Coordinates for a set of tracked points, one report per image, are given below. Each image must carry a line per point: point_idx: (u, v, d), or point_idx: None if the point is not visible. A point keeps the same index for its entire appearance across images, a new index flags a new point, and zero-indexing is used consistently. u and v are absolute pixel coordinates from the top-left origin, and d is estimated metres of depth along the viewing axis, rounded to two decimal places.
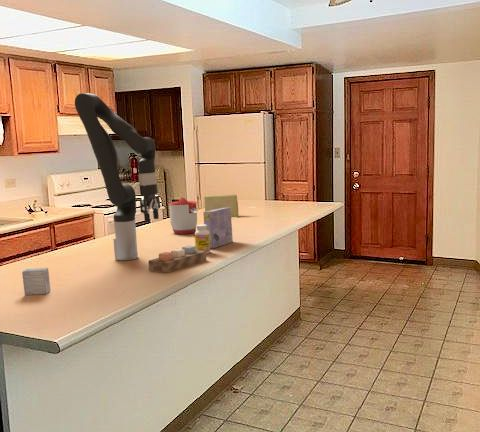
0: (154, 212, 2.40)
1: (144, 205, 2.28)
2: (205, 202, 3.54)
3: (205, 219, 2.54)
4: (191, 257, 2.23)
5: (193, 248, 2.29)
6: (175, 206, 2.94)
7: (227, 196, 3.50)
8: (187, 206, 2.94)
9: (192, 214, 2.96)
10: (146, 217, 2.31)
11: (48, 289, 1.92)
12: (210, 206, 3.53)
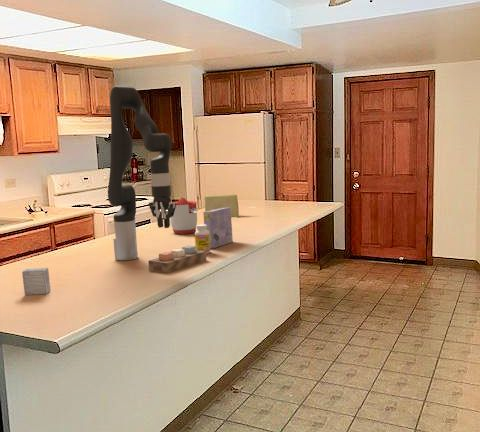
0: None
1: None
2: (205, 202, 3.54)
3: (205, 219, 2.54)
4: (191, 257, 2.23)
5: (193, 248, 2.29)
6: None
7: (227, 196, 3.50)
8: (187, 206, 2.94)
9: (192, 214, 2.96)
10: None
11: (48, 289, 1.92)
12: (210, 206, 3.53)
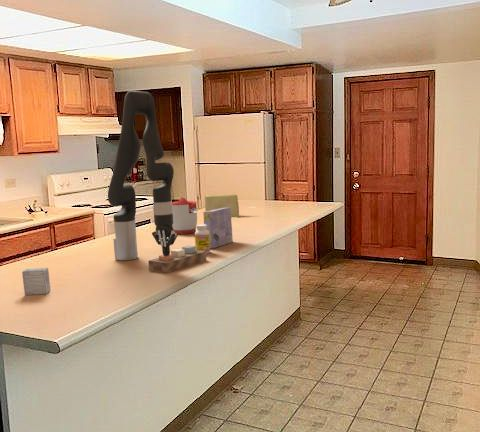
0: None
1: None
2: (205, 202, 3.54)
3: (205, 219, 2.54)
4: (191, 257, 2.23)
5: (193, 248, 2.29)
6: (175, 206, 2.94)
7: (228, 196, 3.50)
8: (187, 206, 2.94)
9: (192, 214, 2.96)
10: None
11: (48, 289, 1.92)
12: (211, 206, 3.53)
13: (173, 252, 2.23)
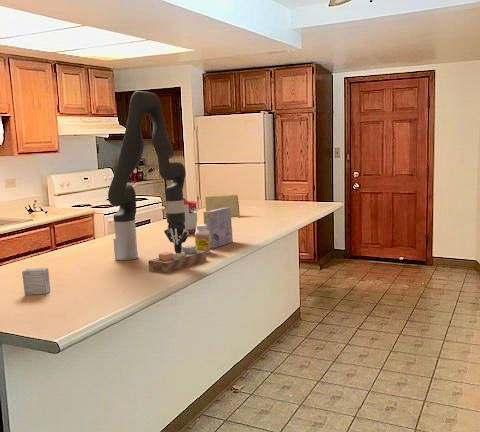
0: None
1: None
2: (205, 202, 3.54)
3: (205, 219, 2.54)
4: (191, 257, 2.23)
5: (193, 248, 2.29)
6: None
7: (228, 196, 3.50)
8: (187, 206, 2.94)
9: (192, 214, 2.96)
10: None
11: (48, 289, 1.92)
12: (211, 206, 3.53)
13: (173, 255, 2.23)
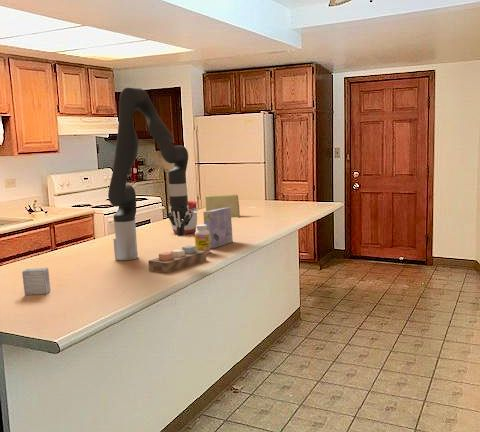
0: None
1: None
2: (206, 202, 3.54)
3: (205, 219, 2.54)
4: (191, 257, 2.23)
5: (193, 248, 2.29)
6: None
7: (228, 196, 3.49)
8: (187, 206, 2.94)
9: (192, 214, 2.96)
10: None
11: (48, 289, 1.92)
12: (211, 206, 3.53)
13: (173, 253, 2.23)
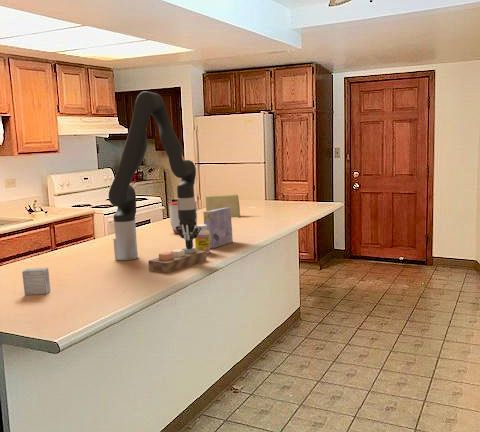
0: None
1: None
2: (206, 202, 3.54)
3: (205, 219, 2.54)
4: (191, 257, 2.23)
5: (193, 250, 2.29)
6: (175, 206, 2.94)
7: (229, 196, 3.49)
8: None
9: None
10: None
11: (48, 289, 1.92)
12: (211, 206, 3.53)
13: (173, 253, 2.23)
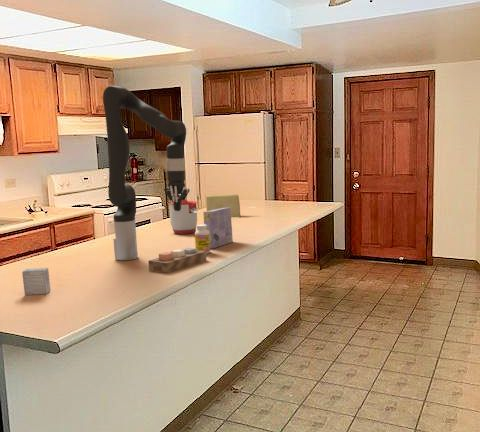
0: None
1: None
2: (206, 202, 3.54)
3: (205, 219, 2.54)
4: (191, 257, 2.23)
5: (193, 250, 2.29)
6: None
7: (229, 196, 3.49)
8: (187, 206, 2.94)
9: (192, 214, 2.96)
10: None
11: (48, 289, 1.92)
12: (212, 206, 3.53)
13: (173, 253, 2.23)
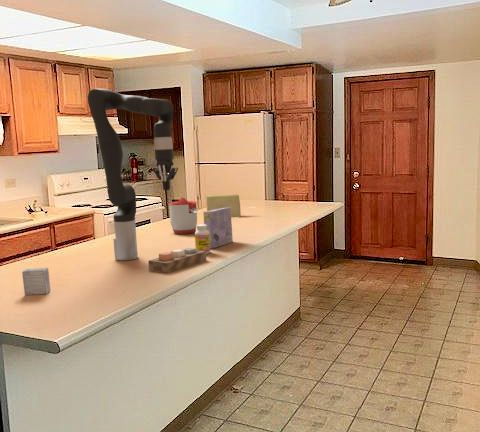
0: None
1: None
2: (207, 202, 3.54)
3: (205, 219, 2.54)
4: (191, 257, 2.23)
5: (193, 250, 2.29)
6: (175, 206, 2.94)
7: (229, 196, 3.49)
8: (187, 206, 2.94)
9: (192, 214, 2.96)
10: None
11: (48, 289, 1.92)
12: (212, 206, 3.53)
13: (173, 253, 2.23)
